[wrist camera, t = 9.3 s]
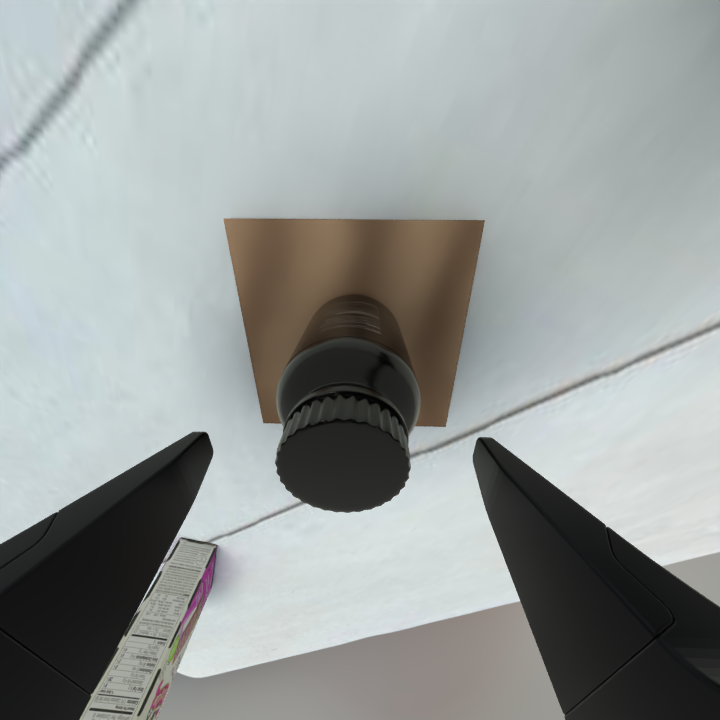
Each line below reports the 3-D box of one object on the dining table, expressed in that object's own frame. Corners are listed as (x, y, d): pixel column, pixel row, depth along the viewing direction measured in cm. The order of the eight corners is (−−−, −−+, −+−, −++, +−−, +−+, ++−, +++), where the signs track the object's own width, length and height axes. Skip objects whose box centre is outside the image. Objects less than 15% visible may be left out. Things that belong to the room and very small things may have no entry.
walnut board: (478, 220, 17) (484, 220, 16) (442, 419, 24) (445, 426, 24) (230, 218, 18) (223, 218, 17) (267, 415, 25) (263, 423, 24)
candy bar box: (214, 586, 39) (123, 805, 24) (178, 580, 38) (62, 800, 24) (220, 543, 34) (110, 785, 19) (179, 535, 33) (33, 778, 19)
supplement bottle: (292, 349, 21) (211, 486, 10) (339, 272, 18) (298, 343, 7) (367, 392, 22) (367, 550, 11) (420, 327, 20) (485, 452, 9)
